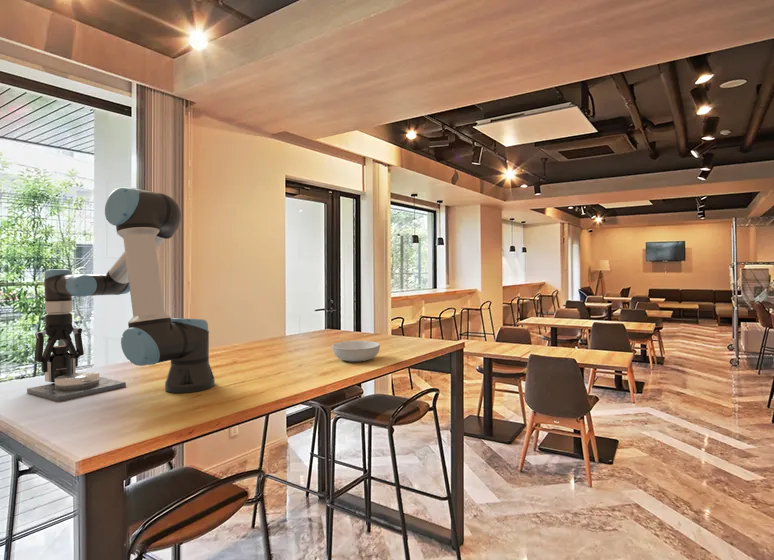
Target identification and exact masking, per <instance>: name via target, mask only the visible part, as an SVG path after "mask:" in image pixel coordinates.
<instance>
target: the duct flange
mask: <svg viewBox="0 0 774 560" xmlns="http://www.w3.org/2000/svg"><path fill="white" fill-rule="evenodd" d="M122 388H127V383H126V382H125V381H121V380H116V379H111V378H107V377H102V376H100V373H99V372H97V371H95V372H93V371H85V372H83V371H82V372H76V373H73V374H67V375H62V376H59V377H56V378H55V382H52V383H47V384H45V385H44V384H43V385H38V386H33V387H28V388H26V393H27V394H28V393H29V395H32V396H35V395H36V397H39V398H43V399H47V400H50V401H54V402H56V403H59V402H64V401H68V400H73V399H77V398H81V397H82V398H83V397H86V396H90V395H91V396H92V395H94V394H95V395H96V394H99V393H103V392H104V393H105V392H108V391H113V389H114V390H117V389H122Z"/></svg>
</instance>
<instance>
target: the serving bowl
mask: <svg viewBox="0 0 774 560" xmlns="http://www.w3.org/2000/svg"><path fill="white" fill-rule="evenodd" d="M380 347H381V344H380V343H379V342H375V341H369V340H346V341H339V342H335V343H333V344H332V345H331V349H332V352H333V354H334V356H335V357H336V358H338V359H340V360H342V361H345V362H350V363H361V362H362V361H363V362H365V361H368V360H371V359H374V358H375V357H376V356H377V355H378V354H379V352H380V349H381V348H380ZM363 362H362V363H363Z"/></svg>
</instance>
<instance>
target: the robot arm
mask: <svg viewBox="0 0 774 560" xmlns="http://www.w3.org/2000/svg"><path fill="white" fill-rule="evenodd" d="M104 216H105V219H106V221H107V222H108V223H109V224H110V225H112V226H115V227H116V235H118V236H119V237H121V238H122V239H123V244H124V245H123V247H124V251H123V253H122V254H121V255H120V257H119V258H118V259H117V260H116V262H115V263H114V264H113V265H112V267H110V269H108V271H107V272H106V273H103V274H102V273H99V274H98V273H97V274H96V273H94V274H93V273H90V274H87V273H75V274H72V270H70V269H68V268H58V269H57V268H54V269H53V268H52V269H51V268H50V269H46V270H45V272H44V279H43V283H44V299H45V303H44V305H45V307H44V309H45V329H44V330H42V331H36V332H35V334H34V335H35V338H36V341H35V351H34V358H33V359H34V361H35V362H37V363H41V366H40V367H41V372H42V373H44V382H48V383H52V382H51V362H48V360H49V358H50V355H51V354H52V350H53V347H54V346H55V344H56V343H57V341H60V340H63V342H64V344H65V345H68V346H69V351H68V353H70V354H71V355H72V374H73V373H77V372H76V368H77V367H78V366H79V360H78V359H79V358H80V357H81V356H84V355H85V352H84V345H83V338H82V337H83V336H82V332H83V328H81V327H80V328H79V327H74V326H73V313H72V312H73V301H72V300H73V298H72V297H76V298H83V297H84V298H85V297H91V296H92V297H93V296H96V297H97V296H115V295H117V296H118V295H119V296H120V295H125V294H128V293H129V295H130V303H131V311H132V318H130V320H129V321H128V323H127V325H128V328H127V329H125V330H124V331H123V333H122V337H121V338H120V344H121V345H120V346H121V350H122V352H123V354H124V356H125V358H126V360H128V361H129V362H130V363H131V364H133V365H135V366H139V367H141V366H154V365H157V364H159V363H164V362H168V361H170V368H169V370H168V374H167V377H166V380H165V382H164V390H165V392H169V393H175V394H176V393H177V394H181V393H182V394H183V393H185V394H186V393H194V392H195V393H196V392H200V391H206V390H208V389H210V388H213V387H215V383H216V382H215V377H214V374H213V371H212V368H211V365H210V361H209V360H210V359H209V358H210V357H209V356H210V355H209V354H210V352H209V350H210V348H209V338H210V336H209V335H210V330H209V323H208V321H207V320H205V319H202V318H201V319H200V318H199V319H198V318H183V317H182V318H180V317H179V318H177V317H171V316H170V315H169V314H168V313H166V312H165V305H164V295H163V289H162V280H161V273H160V268H159V267H160V266H159V258H158V249H159V247H160V246H161V245H162V244H163V243H164V242H165V240H169V239H171V238H172V237H173V236H174V235H175V234H176V232H177V231H178V229H179V228H180V225H181V222H182V212H181V207H180V206H179V204H178V202H177V201H176V200H175V199H174V198H173V197H171V196H169V195H168V194H165V193H163V192H156V191H155V192H153V191H149V190H143V189H138V188H136V187H125V186H124V187H117V188H116V189H114V190H112V191H111V193H110V194H109V196H108V197H107V199H106V202H105V205H104ZM72 333H73V337H74V343H73V340H72V339H73V338H72V337H71V335H72ZM46 335H47V337H48V338H47V344H46V346H45V348H44V344H45V343H44V342H45V337H46ZM74 344H75V345H74Z"/></svg>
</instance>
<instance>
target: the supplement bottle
mask: <svg viewBox="0 0 774 560" xmlns="http://www.w3.org/2000/svg"><path fill="white" fill-rule="evenodd" d="M48 362H51V382H50V383H55V378H56V377H59V376H62V375H67V374H72V355H71V354H70V352H69V346H68V345H66V344H65V345H63V344H62V345H61V344H60V345H54V347H53V350H52V352H51V355H50V358H49V360H48Z"/></svg>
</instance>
